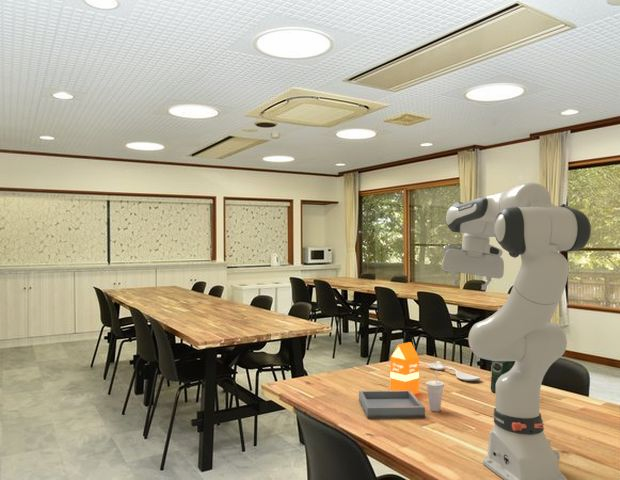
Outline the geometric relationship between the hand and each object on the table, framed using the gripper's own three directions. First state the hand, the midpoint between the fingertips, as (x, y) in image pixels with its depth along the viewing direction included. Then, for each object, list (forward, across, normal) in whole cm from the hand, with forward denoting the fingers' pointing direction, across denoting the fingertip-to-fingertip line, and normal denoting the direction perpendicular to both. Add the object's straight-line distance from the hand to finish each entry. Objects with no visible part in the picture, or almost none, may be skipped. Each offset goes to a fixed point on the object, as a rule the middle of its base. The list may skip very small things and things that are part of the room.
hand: (469, 287), depth 167 cm
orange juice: (+46, -15, +32) cm, 58 cm away
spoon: (+40, +6, +65) cm, 77 cm away
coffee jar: (+39, +24, +40) cm, 60 cm away
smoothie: (+46, -4, +13) cm, 48 cm away
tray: (+48, -20, +12) cm, 53 cm away
